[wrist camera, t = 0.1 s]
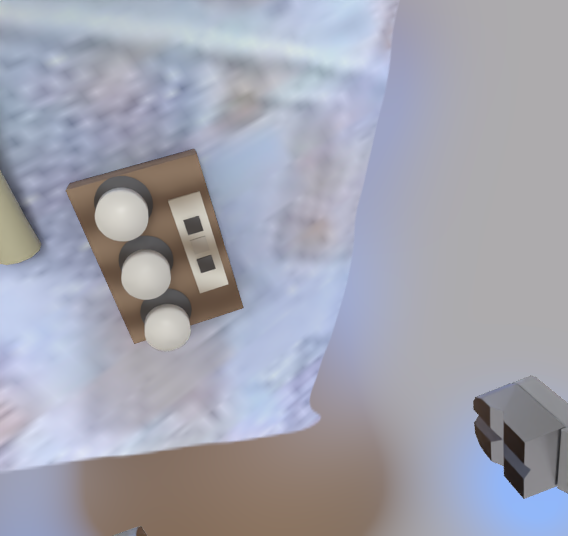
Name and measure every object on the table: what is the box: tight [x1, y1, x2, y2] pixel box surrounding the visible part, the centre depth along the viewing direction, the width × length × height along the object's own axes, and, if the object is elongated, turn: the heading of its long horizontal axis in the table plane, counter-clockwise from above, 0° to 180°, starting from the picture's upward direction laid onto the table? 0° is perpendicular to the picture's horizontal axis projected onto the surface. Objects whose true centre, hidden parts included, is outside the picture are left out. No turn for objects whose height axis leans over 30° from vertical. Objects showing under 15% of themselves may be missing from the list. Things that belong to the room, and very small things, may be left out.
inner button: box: [95, 188, 148, 241], centre depth 48 cm, size 5×5×2 cm
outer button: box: [145, 304, 191, 351], centre depth 54 cm, size 5×5×2 cm
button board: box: [66, 149, 243, 344], centre depth 56 cm, size 20×14×4 cm
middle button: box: [121, 249, 171, 300], centre depth 51 cm, size 5×5×2 cm
